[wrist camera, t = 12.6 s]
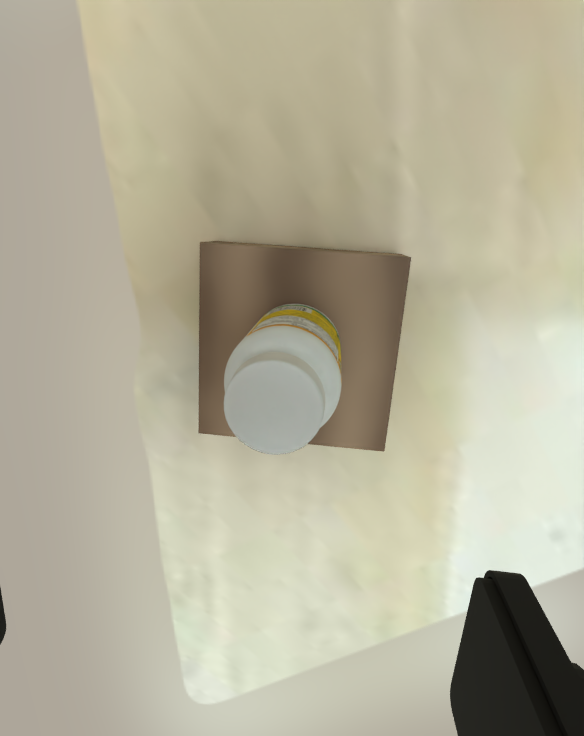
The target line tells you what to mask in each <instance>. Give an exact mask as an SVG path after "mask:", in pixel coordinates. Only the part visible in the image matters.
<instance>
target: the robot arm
mask: <svg viewBox="0 0 584 736" xmlns="http://www.w3.org/2000/svg"><path fill="white" fill-rule="evenodd" d="M5 632H6V620H5V614H4V608H3V601H2V595H1V588H0V644H1V642H2V640H3V638H4V635H5ZM450 699H451V708H452V713H453V717H454V721H455V725H456V729H457V733H458V736H584V670H583V669H582V668H581V667H580V666H578V665H577V664H575V663H571V661H570V660H569V658H568V656H567V654H566V652H565V650H564V648H563V647H562V645H561V643H560V641H559V639H558V637H557V635H556V634H555V632H554V630H553V628H552V626H551V624H550V622H549V621H548V619H547V617H546V615H545V613H544V611H543V610H542V608H541V606H540V604H539V602H538V600H537V598H536V597H535V595H534V593H533V591H532V589H531V587H530V586H529V584H528V582H527V580H526V579H525V577H524V576H523V575H521V574H517V573H509V572H500V571H492V570H489V571H487V572H486V573H485V576H484V578H476V579H475V582H474V585H473V590H472V594H471V598H470V603H469V607H468V612H467V616H466V620H465V625H464V629H463V634H462V638H461V643H460V647H459V651H458V656H457V660H456V664H455V669H454V673H453V678H452V682H451V689H450Z"/></svg>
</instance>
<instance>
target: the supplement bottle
mask: <svg viewBox="0 0 584 736" xmlns="http://www.w3.org/2000/svg"><path fill="white" fill-rule="evenodd" d="M341 386H342V376H341V346H340V338H339V335H338V332H337V330H336V328H335V326H334V324H333V323H332V322H331V320H330V319H329V318H328V317H327V316H326V315H324V314H323V313H322V312H320V311H319V310H317V309H315V308H313V307H310V306H307V305H303V304H286V305H282V306H279V307H276V308H274V309H272V310H270V311H269V312H267V313H266V314H265V315H264V316H263V317H262V318H261V319H260V320H259V321H258V322H257V324H256V325H255V326H254V327H253V328H252V329H251V331H250V332H249V333H248V334H247V335H246V336H245V337H244V339H243V340H242V341H241V342H240V343H239V344H238V345H237V347H236V348H235V349H234V351H233V352H232V354H231V356H230V358H229V360H228V362H227V365H226V369H225V374H224V389H225V396H224V413H225V418H226V421H227V423H228V425H229V427H230V429H231V430H232V432H233V433H234V435H235V436H236V437H237V438H238V439H239V440H240V441H241V442H243V443H244V444H245V445H247V446H248V447H250V448H252V449H254V450H256V451H259V452H262V453H266V454H277V455H278V454H286V453H291V452H294V451H296V450H298V449H300V448H302V447H304V446H305V445H306V444H308V443H309V442H310V441H311V440H312V439H313V438H314V436H315V435H316V434H317V432H318V431H319V429H320V428H321V427H322V426H323V425H324V424H325V423H326V422H327V421H328V420H329V419H330V417H331V416H332V414H333V413H334V411H335V409H336V407H337V404H338V402H339V398H340V393H341Z"/></svg>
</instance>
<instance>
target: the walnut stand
mask: <svg viewBox="0 0 584 736" xmlns="http://www.w3.org/2000/svg"><path fill="white" fill-rule="evenodd" d="M410 261H411V257H408V256H405V255H402V254H390V253H376V252H362V251H348V250H334V249H320V248H306V247H292V246H278V245H264V244H250V243H236V242H222V241H212V242H200V311H199V433H203V434H213V435H223V436H233V437H236V436H235V435H234V433H233V432H232V430H231V429H230V427H229V425H228V423H227V421H226V418H225V413H224V396H225V389H224V374H225V369H226V365H227V362H228V360H229V358H230V356H231V354H232V352H233V351H234V349H235V348H236V347H237V345H238V344H239V343H240V342H241V341H242V340H243V339H244V337H245V336H246V335H247V334H248V333H249V332H250V331H251V329H252V328H253V327H254V326H255V325H256V324H257V322H258V321H259V320H260V319H261V318H262V317H263V316H264V315H265V314H266V313H267V312H269V311H270V310H272V309H274V308H276V307H279V306H282V305H286V304H303V305H307V306H310V307H313V308H315V309H317V310H319V311H320V312H322V313H323V314H324V315H326V316H327V317H328V318H329V319H330V320H331V322H332V323H333V324H334V326H335V328H336V330H337V332H338V335H339V338H340V346H341V376H342V386H341V393H340V398H339V402H338V404H337V407H336V409H335V411H334V413H333V414H332V416H331V417H330V419H329V420H328V421H327V422H326V423H325V424H324V425H323V426H322V427H321V428H320V429H319V431H318V432H317V434H316V435H315V436H314V438H313V439H312V440H311V441H310V442H309V443H308V444H314V445H324V446H334V447H344V448H354V449H364V450H374V451H384V449H385V442H386V435H387V428H388V421H389V413H390V406H391V399H392V392H393V384H394V377H395V370H396V363H397V355H398V348H399V341H400V334H401V326H402V319H403V312H404V305H405V297H406V290H407V283H408V276H409V268H410Z"/></svg>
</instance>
